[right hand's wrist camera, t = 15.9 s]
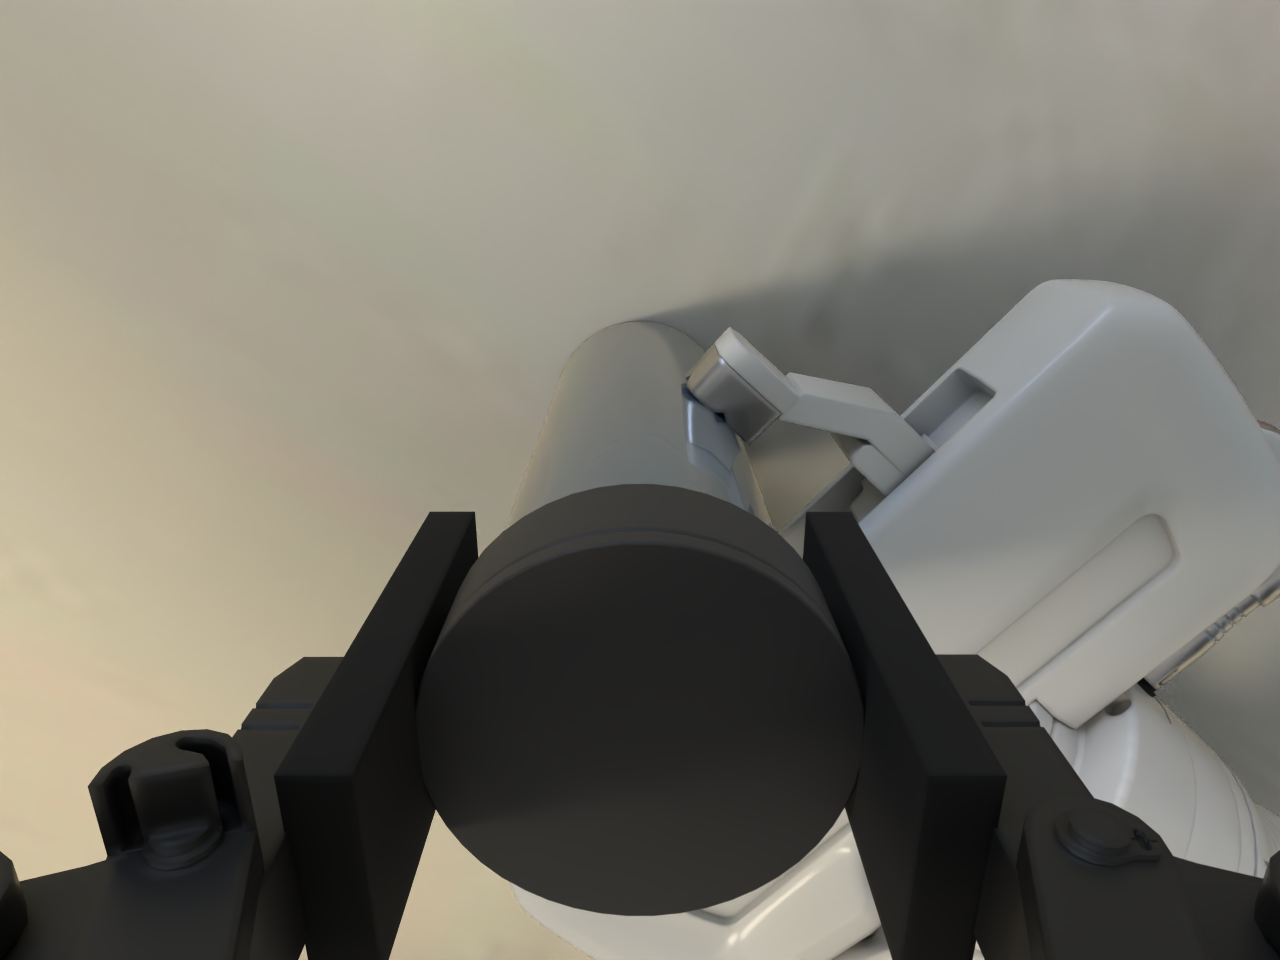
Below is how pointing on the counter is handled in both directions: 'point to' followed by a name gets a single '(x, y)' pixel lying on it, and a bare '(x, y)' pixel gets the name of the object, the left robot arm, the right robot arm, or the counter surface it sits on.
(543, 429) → the jar
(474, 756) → the lid
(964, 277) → the counter surface
